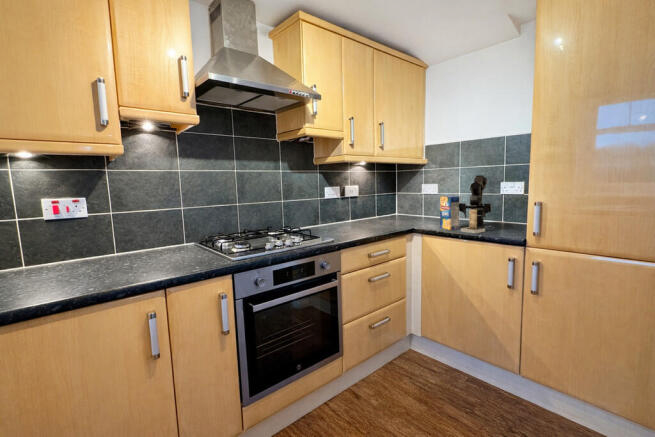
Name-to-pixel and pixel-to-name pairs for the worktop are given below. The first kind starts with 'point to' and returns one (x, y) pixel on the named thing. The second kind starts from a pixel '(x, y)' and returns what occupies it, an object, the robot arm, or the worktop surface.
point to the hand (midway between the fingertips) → (473, 217)
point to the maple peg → (472, 219)
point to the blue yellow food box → (449, 212)
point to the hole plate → (472, 230)
